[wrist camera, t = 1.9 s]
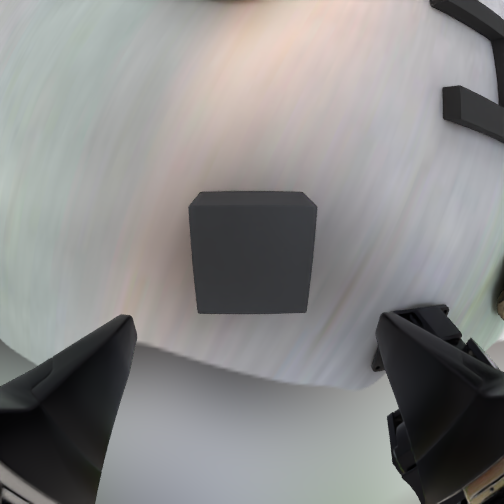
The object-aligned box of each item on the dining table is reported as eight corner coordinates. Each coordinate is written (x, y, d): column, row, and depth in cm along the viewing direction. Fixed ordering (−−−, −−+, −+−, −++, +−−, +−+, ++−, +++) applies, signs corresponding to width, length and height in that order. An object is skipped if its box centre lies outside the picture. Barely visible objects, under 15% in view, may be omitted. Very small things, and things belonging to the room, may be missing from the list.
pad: (296, 282, 18) (306, 313, 15) (205, 283, 18) (197, 314, 15) (303, 191, 16) (317, 205, 13) (199, 191, 16) (187, 205, 12)
